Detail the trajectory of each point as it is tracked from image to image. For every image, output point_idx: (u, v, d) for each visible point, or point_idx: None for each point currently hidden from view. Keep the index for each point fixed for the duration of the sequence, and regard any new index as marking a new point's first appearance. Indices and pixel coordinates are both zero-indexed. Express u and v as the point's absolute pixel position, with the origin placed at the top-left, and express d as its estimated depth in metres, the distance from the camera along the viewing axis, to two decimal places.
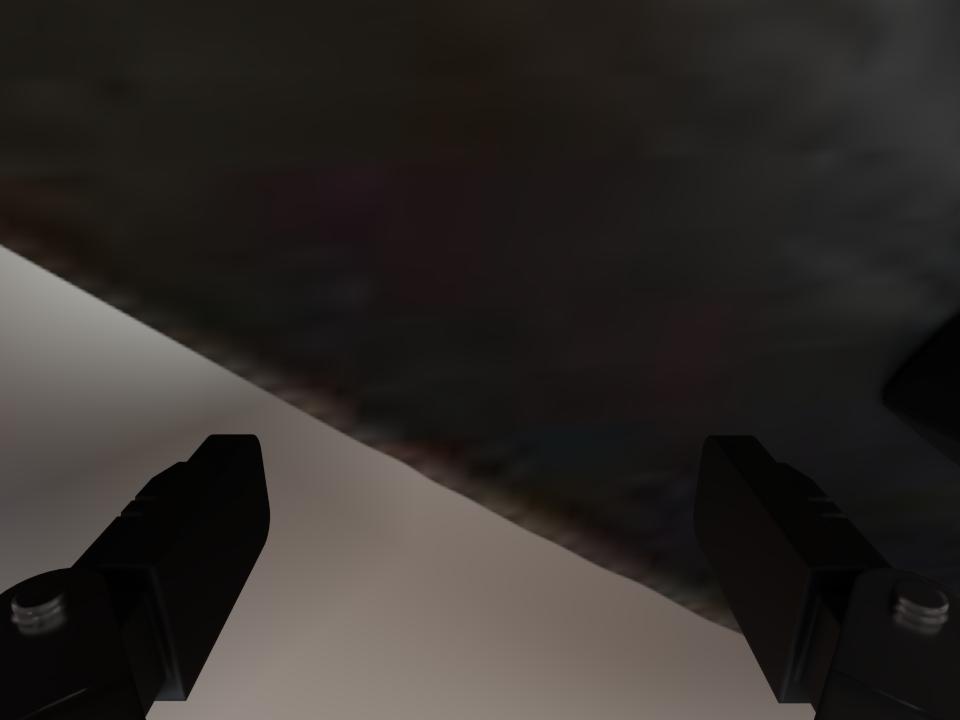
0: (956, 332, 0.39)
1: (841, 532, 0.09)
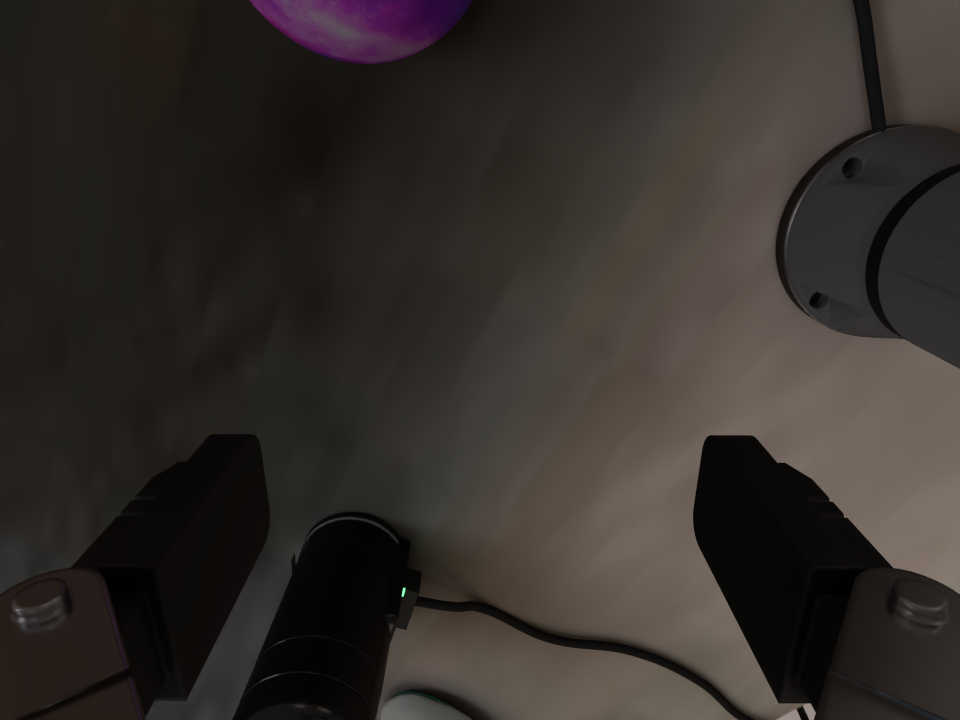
0: None
1: (841, 532, 0.09)
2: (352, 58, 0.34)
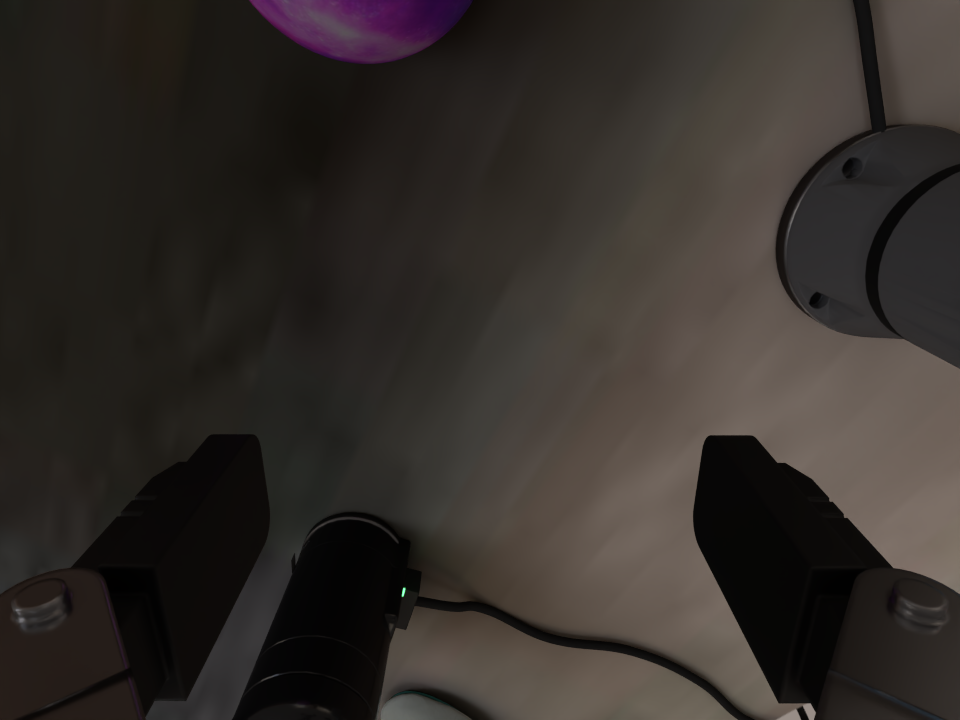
0: None
1: (841, 532, 0.09)
2: (352, 58, 0.34)
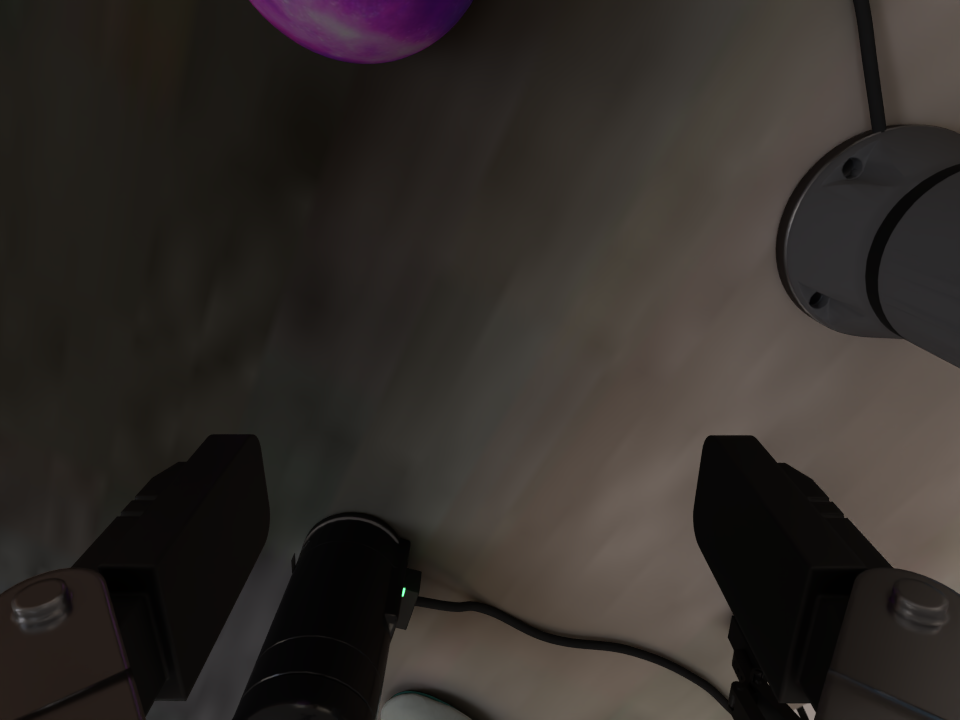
0: None
1: (841, 532, 0.09)
2: (352, 58, 0.34)
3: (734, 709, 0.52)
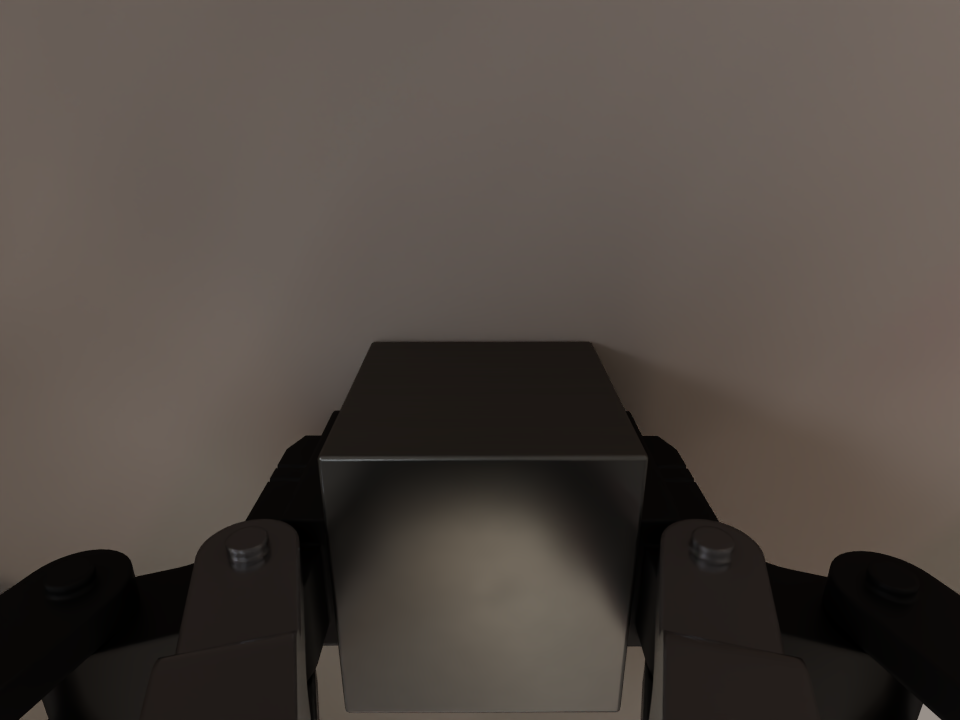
0: None
1: (685, 494, 0.10)
2: None
3: None
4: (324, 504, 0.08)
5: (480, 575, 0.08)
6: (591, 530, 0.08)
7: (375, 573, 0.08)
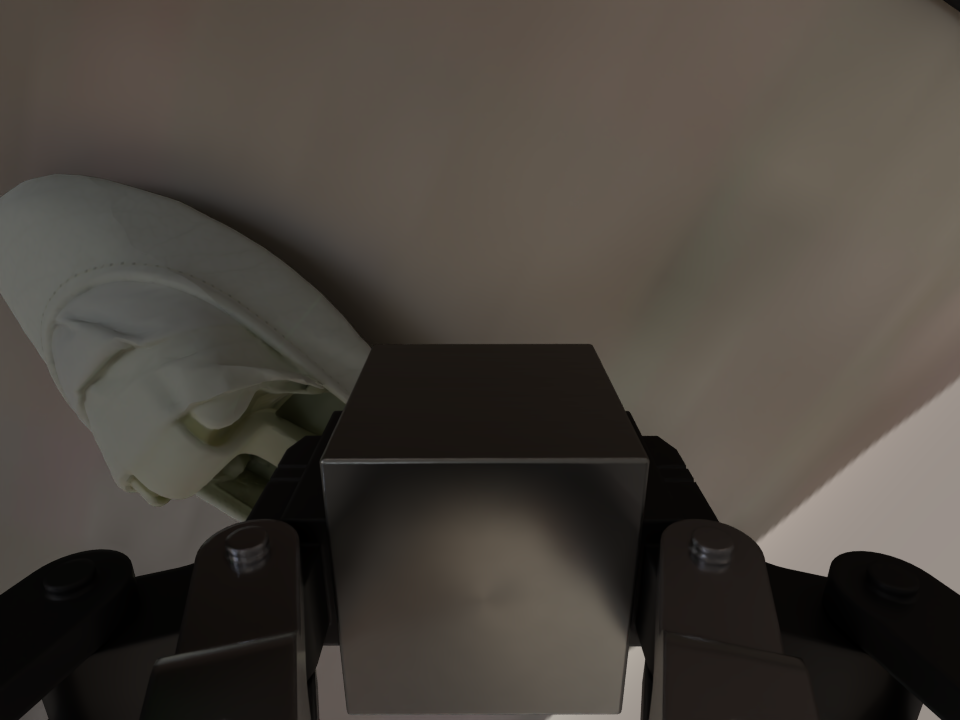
0: None
1: (685, 493, 0.10)
2: None
3: None
4: (326, 507, 0.08)
5: (481, 577, 0.08)
6: (593, 532, 0.08)
7: (377, 576, 0.08)
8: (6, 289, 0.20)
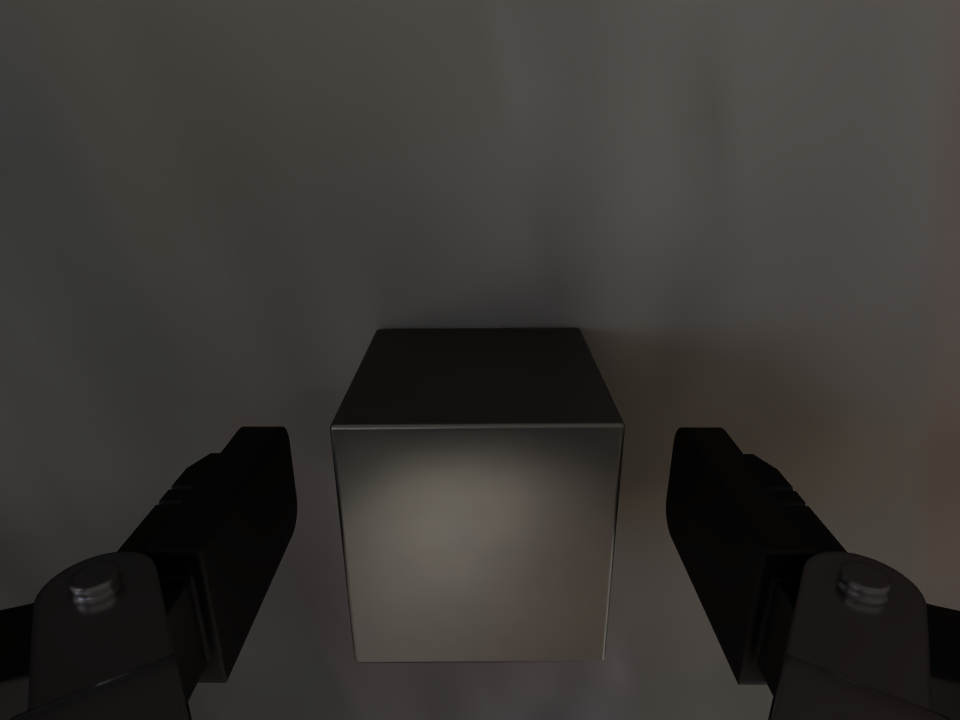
0: None
1: (801, 519, 0.09)
2: None
3: None
4: (336, 469, 0.09)
5: (475, 533, 0.09)
6: (575, 491, 0.09)
7: (381, 532, 0.09)
8: None
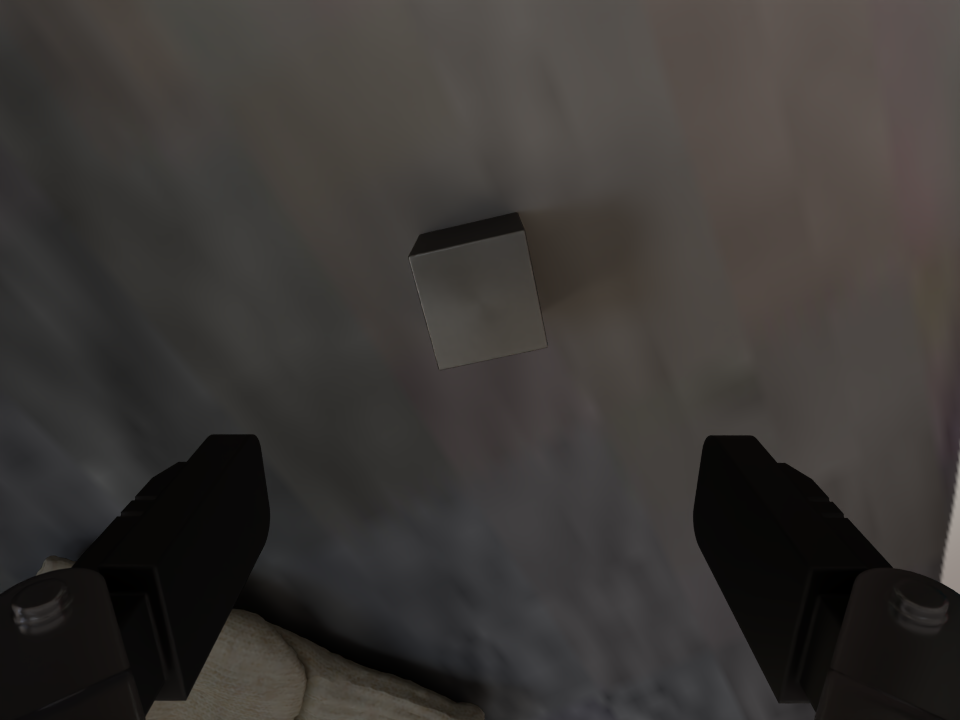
0: None
1: (841, 532, 0.09)
2: None
3: None
4: (413, 275, 0.22)
5: (476, 293, 0.22)
6: (512, 264, 0.22)
7: (437, 301, 0.22)
8: None
